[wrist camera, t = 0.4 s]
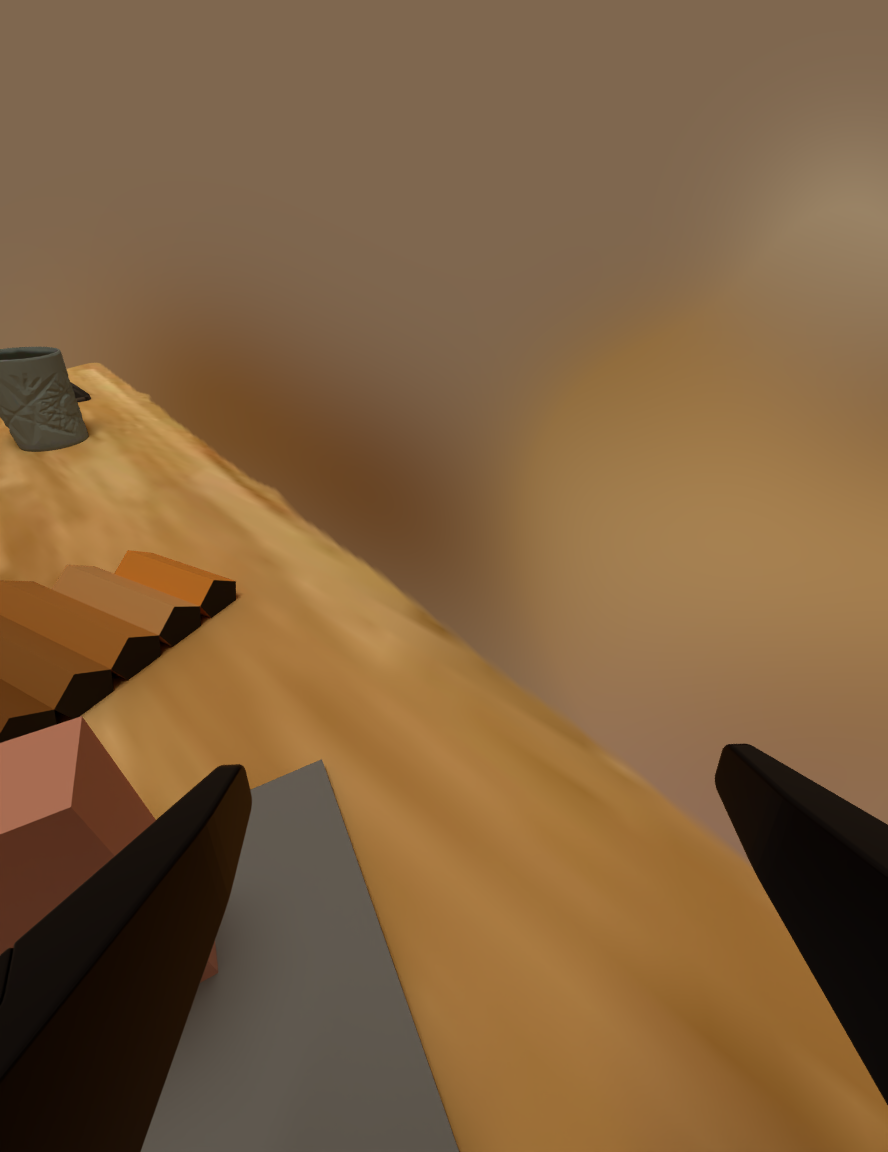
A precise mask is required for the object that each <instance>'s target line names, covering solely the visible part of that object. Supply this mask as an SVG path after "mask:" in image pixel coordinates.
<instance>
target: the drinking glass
mask: <svg viewBox="0 0 888 1152" xmlns="http://www.w3.org/2000/svg"><path fill="white" fill-rule="evenodd" d="M0 417H1V419H2V420H3V421H4V423H5V425H6V426H7V427H8V428H9V429H10V433H11V435H12V437H13V438H14V440H15V442H16V443H17V445H18V446H19V447H20V448H21V449H22V450H24V451H31V452H39V451H50V450H56V449H61V448H65V447H69V446H72V445H75V444H78V443H80V442H83V441H84V440H86V439H87V438H88V432H87V429H86V426H85V423H84V421H83V419H82V414H81V412H80V408H79V406H78V403H77V399H76V398H75V393H74V391H73V389H72V385H71V383H70V380H69V378H68V373H67V370H66V367H65V363H64V361H63V357H62V354H61V352H60V350H59V349H57V348H50V347H19V348H7V349H0Z"/></svg>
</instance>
